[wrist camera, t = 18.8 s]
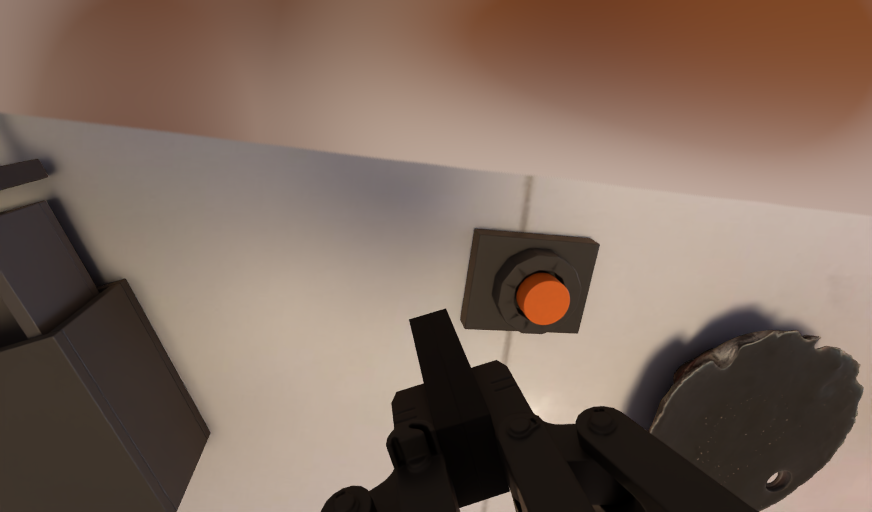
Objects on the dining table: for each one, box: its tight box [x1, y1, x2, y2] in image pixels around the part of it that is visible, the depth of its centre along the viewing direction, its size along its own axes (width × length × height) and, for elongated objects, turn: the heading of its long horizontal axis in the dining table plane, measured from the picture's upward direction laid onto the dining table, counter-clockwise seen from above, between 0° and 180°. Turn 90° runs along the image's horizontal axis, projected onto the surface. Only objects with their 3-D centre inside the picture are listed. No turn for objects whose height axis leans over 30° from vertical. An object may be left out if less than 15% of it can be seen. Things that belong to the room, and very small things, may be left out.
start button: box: [516, 273, 570, 325], centre depth 35 cm, size 4×4×2 cm
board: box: [648, 330, 863, 512], centre depth 44 cm, size 22×22×5 cm
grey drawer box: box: [0, 279, 210, 512], centre depth 32 cm, size 15×13×9 cm
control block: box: [460, 229, 600, 334], centre depth 37 cm, size 10×8×4 cm
